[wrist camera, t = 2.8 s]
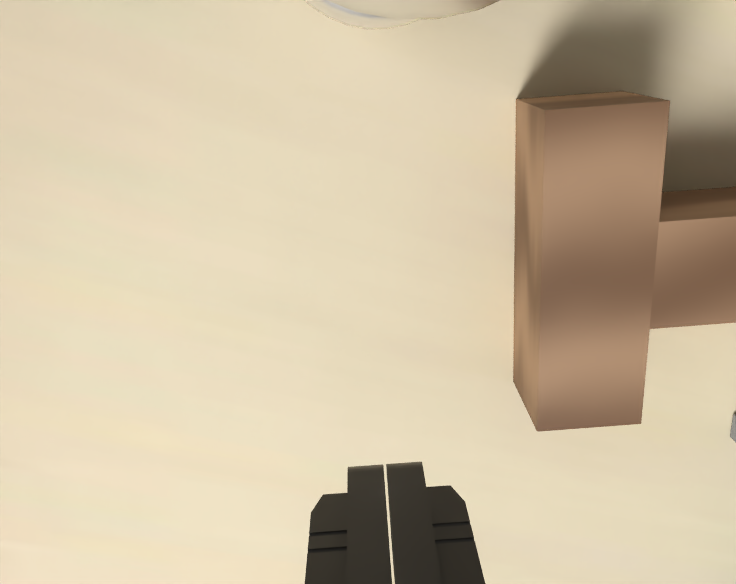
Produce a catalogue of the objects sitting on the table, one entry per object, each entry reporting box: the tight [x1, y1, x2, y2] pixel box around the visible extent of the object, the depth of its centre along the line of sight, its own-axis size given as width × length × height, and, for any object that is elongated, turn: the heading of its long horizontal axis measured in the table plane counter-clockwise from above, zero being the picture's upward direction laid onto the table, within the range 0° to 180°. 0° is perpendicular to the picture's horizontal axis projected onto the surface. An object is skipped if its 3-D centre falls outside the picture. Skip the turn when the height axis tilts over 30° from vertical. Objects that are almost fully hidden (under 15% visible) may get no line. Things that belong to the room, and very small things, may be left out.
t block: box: [513, 91, 736, 431], centre depth 25 cm, size 12×12×4 cm
